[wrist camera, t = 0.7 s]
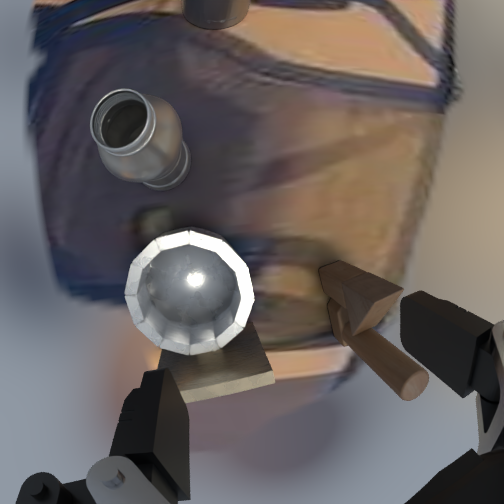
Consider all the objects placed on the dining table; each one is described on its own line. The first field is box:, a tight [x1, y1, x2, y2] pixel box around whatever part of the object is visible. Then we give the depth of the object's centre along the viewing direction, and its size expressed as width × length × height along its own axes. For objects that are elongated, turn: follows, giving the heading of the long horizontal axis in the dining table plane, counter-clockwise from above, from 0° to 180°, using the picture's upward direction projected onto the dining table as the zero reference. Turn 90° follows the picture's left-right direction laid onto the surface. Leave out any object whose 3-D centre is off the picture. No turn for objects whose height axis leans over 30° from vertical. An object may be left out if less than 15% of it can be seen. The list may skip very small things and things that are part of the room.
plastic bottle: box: [90, 88, 191, 191], centre depth 23 cm, size 6×7×20 cm
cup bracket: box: [125, 226, 275, 403], centre depth 30 cm, size 16×12×12 cm
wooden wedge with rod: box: [319, 261, 429, 401], centre depth 31 cm, size 4×11×18 cm, turn 17°
